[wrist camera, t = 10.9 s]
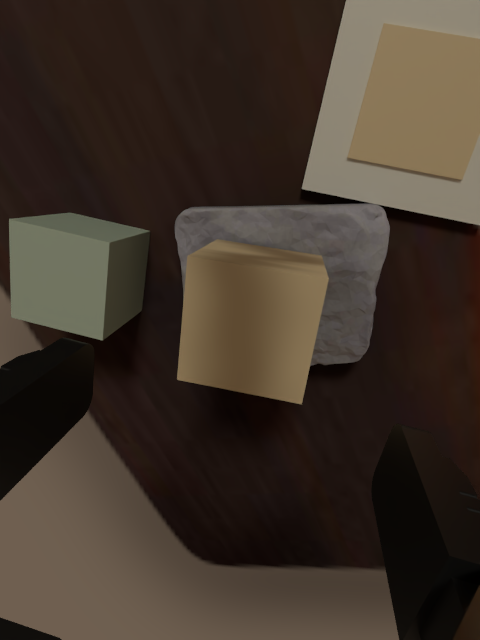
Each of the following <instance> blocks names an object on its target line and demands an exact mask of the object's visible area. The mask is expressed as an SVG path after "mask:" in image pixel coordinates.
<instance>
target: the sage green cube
mask: <svg viewBox="0 0 480 640" xmlns="http://www.w3.org/2000/svg"><path fill="white" fill-rule="evenodd" d="M9 239H10V281H11V317H12V318H16V319H20V320H24V321H28V322H32V323H36V324H40V325H44V326H47V327H51V328H55V329H59V330H63V331H67V332H71V333H75V334H79V335H83V336H87V337H91V338H94V339H98V340H102V341H103V340H104V339H105V338H107V337H108V336H109V335H111V334H112V333H113V332H115V331H116V330H117V329H119V328H120V327H121V326H122V325H124V324H125V323H126V322H128V321H129V320H130V319H132V318H133V317H134V316H136V315H137V314H138V313H140V312H141V311H142V304H143V295H144V286H145V276H146V267H147V258H148V249H149V240H150V231H148V230H144V229H139V228H135V227H130V226H126V225H122V224H117V223H113V222H109V221H104V220H100V219H95V218H91V217H87V216H82V215H78V214H74V213H62V214H53V215H43V216H34V217H24V218H15V219H9Z"/></svg>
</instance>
